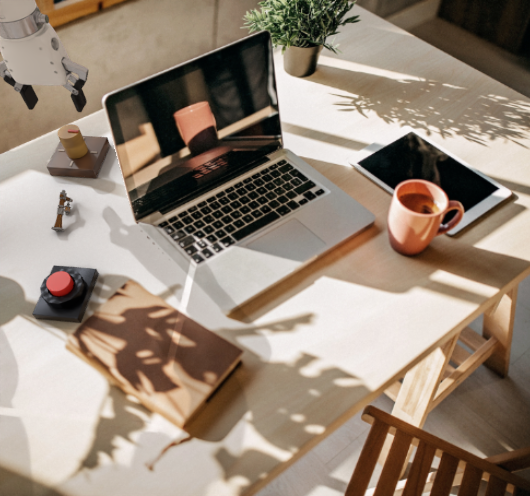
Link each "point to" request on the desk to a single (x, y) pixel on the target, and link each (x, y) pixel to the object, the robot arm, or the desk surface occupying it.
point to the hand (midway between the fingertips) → (58, 106)
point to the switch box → (67, 296)
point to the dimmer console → (80, 159)
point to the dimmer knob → (72, 141)
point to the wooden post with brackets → (62, 210)
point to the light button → (60, 283)
